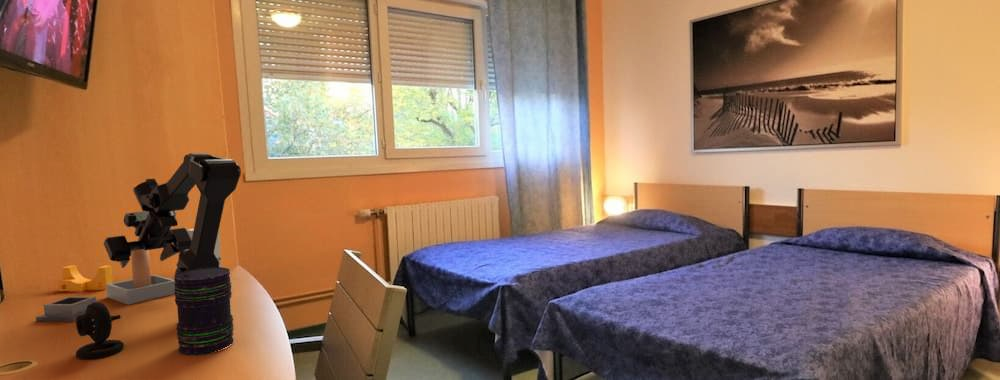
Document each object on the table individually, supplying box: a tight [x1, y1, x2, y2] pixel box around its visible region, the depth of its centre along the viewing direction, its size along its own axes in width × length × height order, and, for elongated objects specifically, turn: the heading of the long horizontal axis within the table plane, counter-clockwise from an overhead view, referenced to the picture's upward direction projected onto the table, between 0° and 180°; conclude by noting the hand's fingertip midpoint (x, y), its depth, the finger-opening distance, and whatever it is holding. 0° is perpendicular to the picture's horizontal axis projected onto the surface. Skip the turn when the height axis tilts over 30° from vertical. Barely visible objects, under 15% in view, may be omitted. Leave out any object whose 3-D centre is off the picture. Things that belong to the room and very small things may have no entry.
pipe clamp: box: [57, 264, 114, 293], centre depth 148 cm, size 12×4×6 cm, turn 89°
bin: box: [106, 274, 175, 305], centre depth 142 cm, size 12×12×4 cm
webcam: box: [75, 301, 125, 360], centre depth 103 cm, size 8×8×10 cm
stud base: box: [35, 296, 97, 323], centre depth 126 cm, size 9×9×4 cm
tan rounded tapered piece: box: [130, 250, 152, 289], centre depth 142 cm, size 4×4×14 cm
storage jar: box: [173, 266, 235, 357], centre depth 105 cm, size 10×10×15 cm
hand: (142, 263), depth 141 cm, fingers open, 9 cm apart
